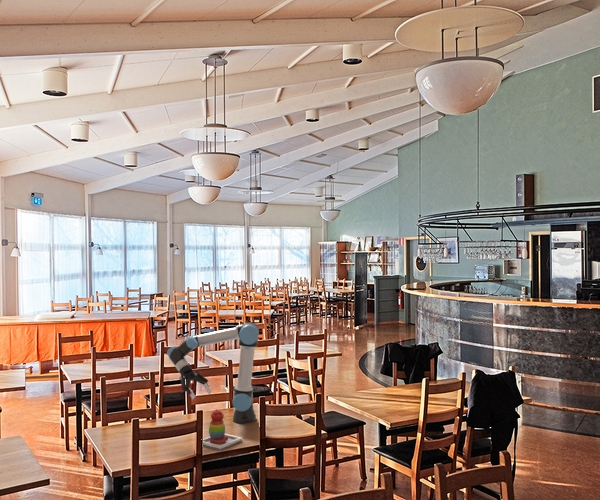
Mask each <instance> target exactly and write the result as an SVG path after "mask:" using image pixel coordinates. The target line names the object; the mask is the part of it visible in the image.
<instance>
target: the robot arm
mask: <svg viewBox="0 0 600 500" xmlns="http://www.w3.org/2000/svg"><path fill="white" fill-rule="evenodd" d="M259 334H260V329H259V326H258V325H257V324H256V323H254V322H252V321H251V322H244V323H242V324H238V325H236V326H235V327H231V328H226V329H221V330H217V331H216V330H215V331H211V332H207V333H203V334H198V335H190V336H188V337H187V338H186V339H185V340H184V341H182V343H181V344H180V345H179V346H176V345H174V346H171V347H170V348H168V350H167V352H166V354H167V356H168V359H169V360H170V361H171V362H172V364H173V365H174V367H175V369H176V370H177V371H178V372H179V374H180V376H179V380H180V385H181V390H182V391H183V392H186V393H187V395H189V396H190V398H191V399H192V400H195V398H196V395H195V393H194V392H193V390H192V388H191V387H190V382H192V381H195V382H197V383H199V384H201V385H203V388H204V389H205V391H206V392H207V394H208V395H210V394H211V393H212V389H211V388H210V385H209V384H208V382H209V379H207V378H206V377H204V376H203V375H202V374H201V373H199V371H198V370H196V371H195V372H194V371H193V368H192V367H191V365H190V364H189V362H188V361H187V359H186V358H185V357H186V356H187V355H188V354H190V353H191V352H192V351H193V350H194V349H197V348H200V347H204V346H210V345H215V344H220V343H223V342H229V341H233V340H239V341H238V346H239V347H240V353H239V364H238V372H237V373H238V374H237V383H236V385H234V388H233V389H234V390H233V397H232V398H233V399H232V402H231V403H232V407H233V408H234V412H233V415H232V421H233V422H234V423H237V424H249V423H252V422H256V421H257V415H256V413H255V410H254V395H253V391H254V387H253V385H252V376H253V368H254V367H253V366H254V358H255V350H256V348H257V347H258V343H259Z"/></svg>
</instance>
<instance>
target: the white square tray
mask: <svg viewBox="0 0 600 500" xmlns="http://www.w3.org/2000/svg"><path fill="white" fill-rule="evenodd" d="M224 436H227V437H228V439H227V440H225V443H224V444H213V443H210V435H209V436H207V437H204V438H202V439H203V446H202V447H205V448H209V449H212V450H217V451H223V450H226V449H229V448H230V447H232V446H235V445H238V444H239V443H242V442H243V437H242V436H241V437H240V436H237V435H232V434H228V433H225V435H224Z"/></svg>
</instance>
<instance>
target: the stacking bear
mask: <svg viewBox="0 0 600 500" xmlns="http://www.w3.org/2000/svg"><path fill="white" fill-rule="evenodd" d="M210 418H211V421H210V422H209V426H208V433H209V436H210V443H213V444H224V443H225V440H227V439H228V437H227V436H224V435H225V434H226V426H225V423H224V420H223V419H224V418H225V415H224V413H223V412H222V411H221V410H218V409H215V410H214V411H212V412H211V414H210Z"/></svg>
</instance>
